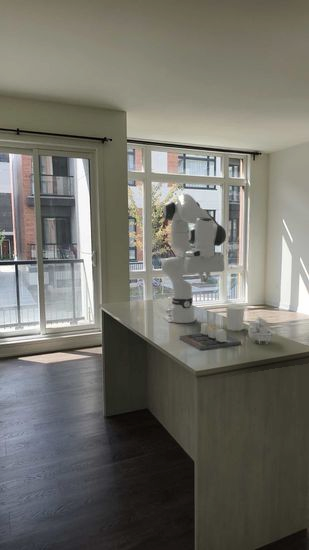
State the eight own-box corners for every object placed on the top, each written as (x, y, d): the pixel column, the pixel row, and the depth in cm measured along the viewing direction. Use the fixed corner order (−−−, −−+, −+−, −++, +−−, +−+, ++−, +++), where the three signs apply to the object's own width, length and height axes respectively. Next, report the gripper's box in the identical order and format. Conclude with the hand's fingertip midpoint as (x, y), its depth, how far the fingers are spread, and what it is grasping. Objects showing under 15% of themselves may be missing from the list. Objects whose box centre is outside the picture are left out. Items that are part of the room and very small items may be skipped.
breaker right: (216, 340, 166) (216, 329, 165) (221, 339, 167) (221, 328, 166) (220, 342, 162) (220, 331, 161) (226, 341, 163) (226, 330, 163)
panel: (179, 338, 175) (179, 335, 175) (217, 334, 184) (217, 331, 183) (199, 350, 157) (199, 346, 157) (241, 344, 165) (241, 340, 165)
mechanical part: (272, 347, 161) (272, 321, 160) (245, 343, 166) (246, 318, 165) (276, 341, 170) (277, 316, 169) (251, 338, 176) (252, 314, 175)
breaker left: (200, 333, 178) (200, 323, 178) (206, 332, 180) (206, 322, 179) (205, 334, 175) (205, 325, 174) (210, 334, 176) (210, 324, 175)
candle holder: (230, 331, 189) (230, 309, 188) (223, 327, 199) (223, 306, 198) (247, 330, 191) (247, 308, 190) (239, 326, 200) (239, 305, 199)
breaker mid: (208, 336, 172) (208, 326, 172) (213, 335, 173) (213, 325, 173) (212, 338, 168) (212, 327, 168) (218, 337, 169) (218, 327, 169)
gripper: (219, 251, 172) (219, 280, 173) (182, 252, 164) (182, 282, 165) (227, 252, 166) (226, 281, 167) (188, 252, 158) (188, 283, 160)
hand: (204, 281), depth 166 cm, fingers closed
